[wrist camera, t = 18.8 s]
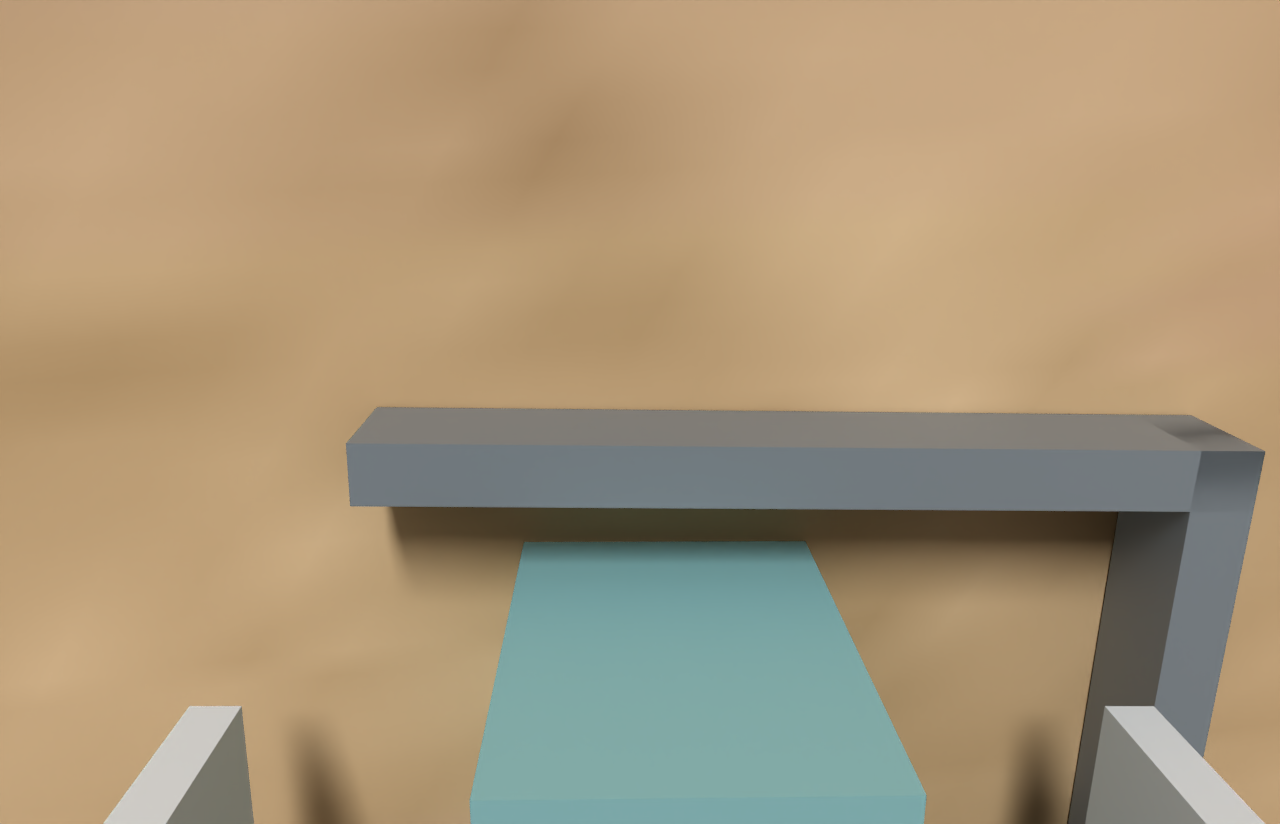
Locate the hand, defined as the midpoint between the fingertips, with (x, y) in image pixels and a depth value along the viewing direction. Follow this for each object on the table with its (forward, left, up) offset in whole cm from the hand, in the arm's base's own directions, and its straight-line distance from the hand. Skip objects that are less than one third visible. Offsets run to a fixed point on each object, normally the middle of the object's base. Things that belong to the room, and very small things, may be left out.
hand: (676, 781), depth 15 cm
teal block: (0, 0, -3) cm, 3 cm away
